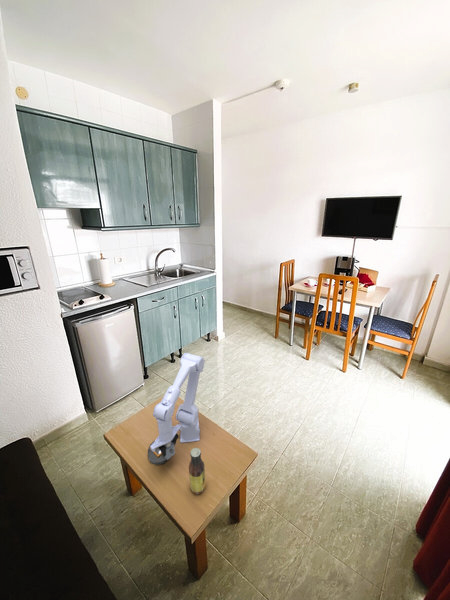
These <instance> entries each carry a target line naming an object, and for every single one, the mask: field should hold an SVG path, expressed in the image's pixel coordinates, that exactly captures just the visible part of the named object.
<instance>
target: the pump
mask: <svg viewBox="0 0 450 600" xmlns="http://www.w3.org/2000/svg"><path fill="white" fill-rule="evenodd" d="M164 445H165V447H166V456H165V458H166V459H167V460H168V459H169V458H170V459H171V458H172V457H173V456H174V455H176V451H175V450H176V449H175V448H176V446H175V447H174V443H173V442H172V441H170V442H169V443H166V444H164ZM170 459H169V460H170ZM169 460H168V461H169Z"/></svg>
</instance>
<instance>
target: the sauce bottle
mask: <svg viewBox="0 0 450 600" xmlns="http://www.w3.org/2000/svg"><path fill="white" fill-rule="evenodd" d="M189 454H190V458H191V459H190V461H189V464H188V473H189V474H188V475H189V476H188V477H189V487H190V490H191V492H192V493H193V494H194V495H201V494H202V493H203V492H204V491H205V489H206V469H205V463H204V461H203V459H202V456H201V455H202V452H201V449H200V448H199V447H194V448H192V449H191V450H190V453H189Z"/></svg>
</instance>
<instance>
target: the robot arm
mask: <svg viewBox="0 0 450 600" xmlns="http://www.w3.org/2000/svg"><path fill="white" fill-rule="evenodd" d="M204 365H205V358H204V357H203V356H199V355H196V354H192V353H188V352H184V353H183V354H182V355H181V357H180V361H179V366H180V367H179V370H178V373H177V374H176V377H175V379H174V381H173V384H172V385H169V386H168V388H167V390H166V391H165V393H164V395H163V397H162V398H161V400H160V402H159V403H157V404H156V405H155V406H154V409H153V413H152V416H153V417H154V418H155V420H156V421H157V422H156V423H157V430H158V436H157V437H156V439H155V440H154V441H153V442H154V443H153V444H152V445H151V446H150V445H149V446H150V448H151V450H152V451H153V452H154V451H155V449H156V448H157V447H158V448H159V449H160V451H161V453H162V455H163V456H164V457H165V456H166V447H165V445H164V444H166V443H169V442H170V441H172V442H173V443H174V447H175V448H176V444H177V441H178V439H179V438H180V439H179V443H181V444H182V443H183V444H184V443H191V442H198V441H201V440H200V438H201V437H200V434H201V429H200V423H199V422H200V420H199V408H198V407H197V406H196V404H195V401H196V397H197V395H196V394H197V391H198V385H199V379H200V374H201V373H203V371H204V367H205V366H204ZM187 378H188V380H187ZM186 380H187V385H186V391H185V395H184V400H183V403H181V404H179V406H178V408H177V411H176V414H175V420H176V421H178V424H176V425H174V426H173V420H172V417H173V415H174V412H175V409H176V406H175V405H176V403H177V401H178V399H179V398H180V395H181V388H182V386H183V384H184V383H185V381H186ZM179 431H180V436H179V434H178V432H179Z"/></svg>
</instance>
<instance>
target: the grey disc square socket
mask: <svg viewBox="0 0 450 600" xmlns="http://www.w3.org/2000/svg"><path fill="white" fill-rule="evenodd" d="M153 443H154V441H152V442H151V443H150V445H148V448H147V456H148V461H149V462H150V463H151V464H153V465H154V466H155V465H156V466H160V465H164V464H165V463H167V462H168V461H169V460H170V459H171V458H169V459H168V460H167V459H166V458H165V457H164V456H163V455H162V453H161V451H160V449H159V448H158V447H157V448H156V449H155V451H154V452H153V451H152V450H151V448H150V446H151V445H152V444H153Z"/></svg>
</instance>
